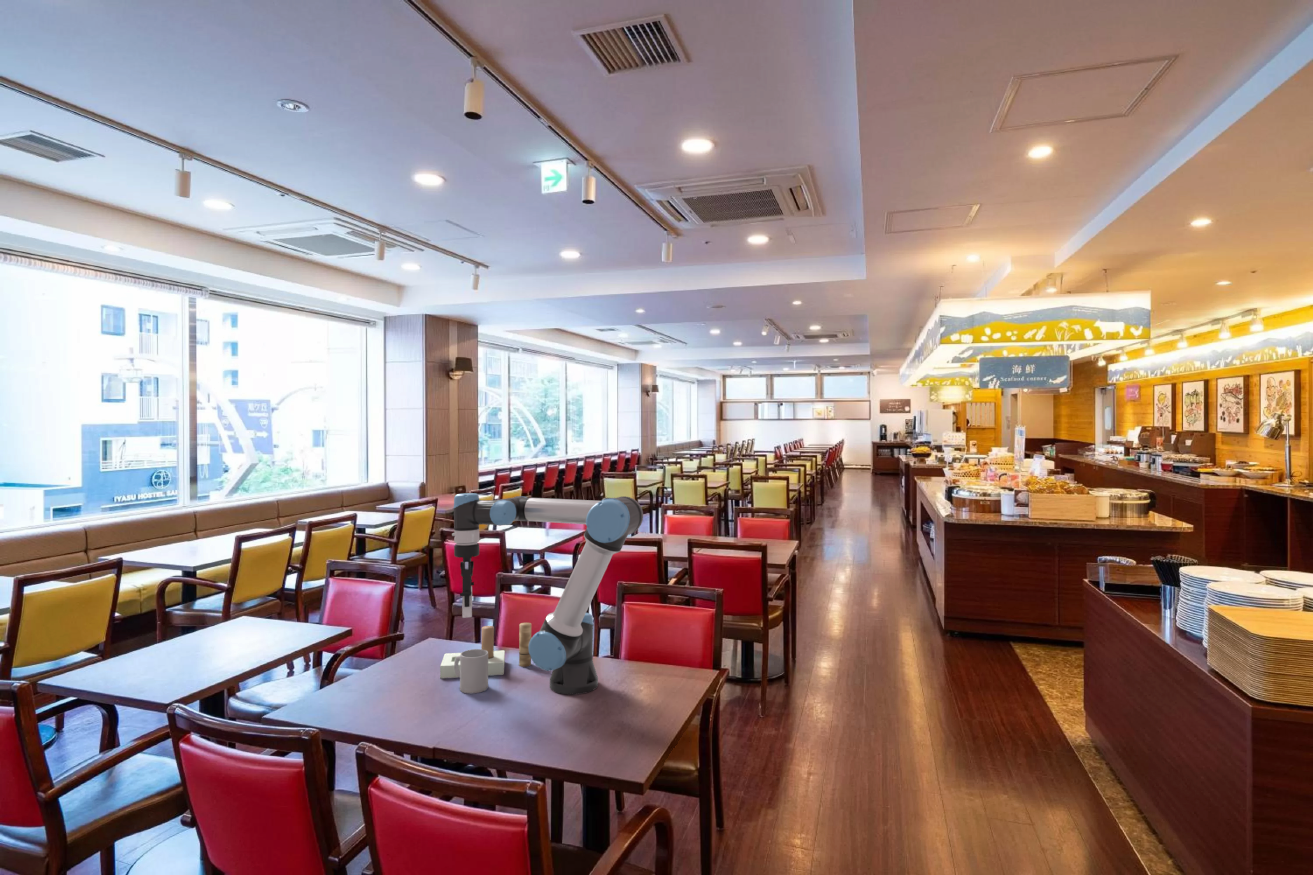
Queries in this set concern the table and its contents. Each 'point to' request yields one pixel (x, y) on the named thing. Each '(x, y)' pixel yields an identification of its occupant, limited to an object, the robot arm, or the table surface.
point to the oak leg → (524, 644)
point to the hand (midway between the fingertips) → (467, 611)
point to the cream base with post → (487, 643)
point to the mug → (472, 670)
